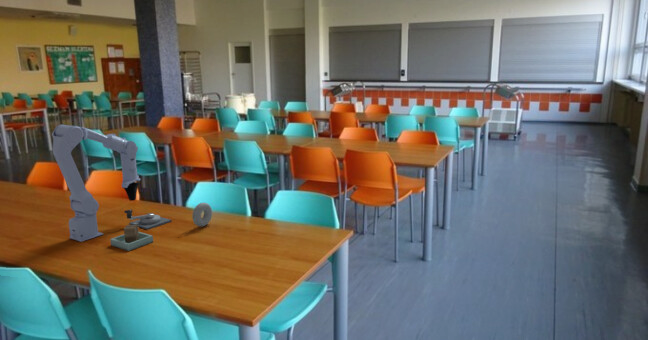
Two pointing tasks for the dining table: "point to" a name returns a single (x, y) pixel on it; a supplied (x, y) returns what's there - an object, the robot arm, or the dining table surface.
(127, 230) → the block
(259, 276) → the dining table surface
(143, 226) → the crank base
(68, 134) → the robot arm
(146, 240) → the tray
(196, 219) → the donut
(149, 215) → the crank
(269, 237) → the dining table surface
